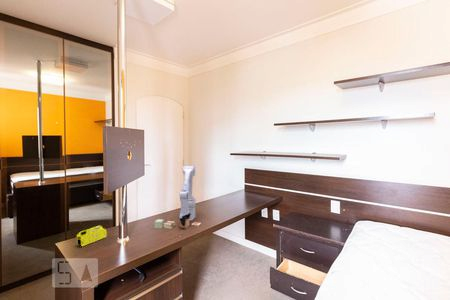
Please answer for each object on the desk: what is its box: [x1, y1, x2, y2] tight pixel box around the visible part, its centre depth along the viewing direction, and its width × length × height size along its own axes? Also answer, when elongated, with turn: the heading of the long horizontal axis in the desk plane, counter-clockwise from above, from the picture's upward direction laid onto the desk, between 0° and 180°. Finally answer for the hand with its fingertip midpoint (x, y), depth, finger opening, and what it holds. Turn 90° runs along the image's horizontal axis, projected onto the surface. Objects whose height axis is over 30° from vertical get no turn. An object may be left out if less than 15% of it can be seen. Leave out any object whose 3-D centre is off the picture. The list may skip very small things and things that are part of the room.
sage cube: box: [154, 218, 165, 229], centre depth 165 cm, size 5×5×5 cm
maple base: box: [163, 220, 176, 230], centre depth 165 cm, size 6×6×4 cm
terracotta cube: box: [179, 219, 190, 229], centre depth 166 cm, size 5×5×5 cm
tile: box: [191, 221, 201, 227], centre depth 170 cm, size 5×6×1 cm
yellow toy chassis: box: [76, 225, 108, 247], centre depth 142 cm, size 16×6×8 cm, turn 150°
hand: (185, 224), depth 166 cm, fingers closed on terracotta cube, 5 cm apart
